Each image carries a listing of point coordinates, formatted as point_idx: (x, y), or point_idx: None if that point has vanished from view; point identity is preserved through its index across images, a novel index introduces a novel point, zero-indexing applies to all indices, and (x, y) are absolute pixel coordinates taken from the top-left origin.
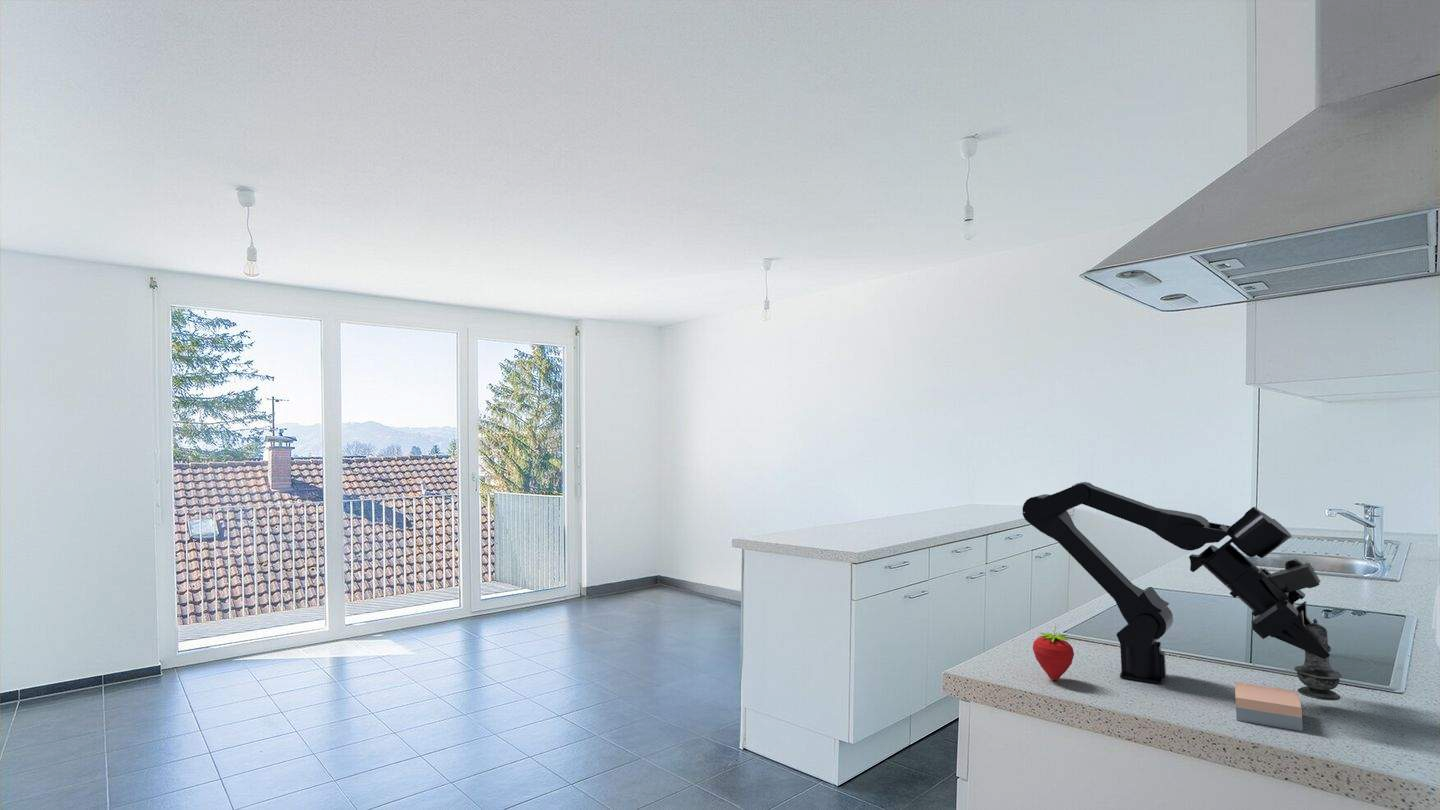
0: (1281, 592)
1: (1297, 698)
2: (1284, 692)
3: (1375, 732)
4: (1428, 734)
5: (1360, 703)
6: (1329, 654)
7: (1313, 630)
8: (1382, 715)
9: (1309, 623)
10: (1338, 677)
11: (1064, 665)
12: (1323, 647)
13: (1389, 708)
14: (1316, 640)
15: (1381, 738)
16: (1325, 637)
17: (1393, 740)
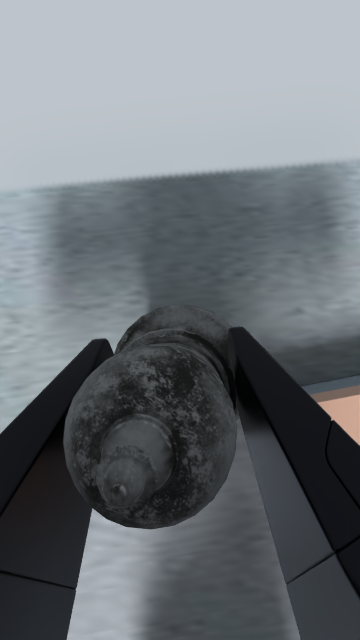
0: None
1: (356, 399)
2: None
3: (274, 250)
4: (208, 172)
5: (78, 297)
6: (242, 327)
7: (232, 444)
8: (138, 252)
9: (7, 511)
10: (205, 311)
11: None
12: (263, 353)
13: (74, 247)
14: (306, 394)
15: (307, 237)
16: (192, 351)
17: (302, 217)
